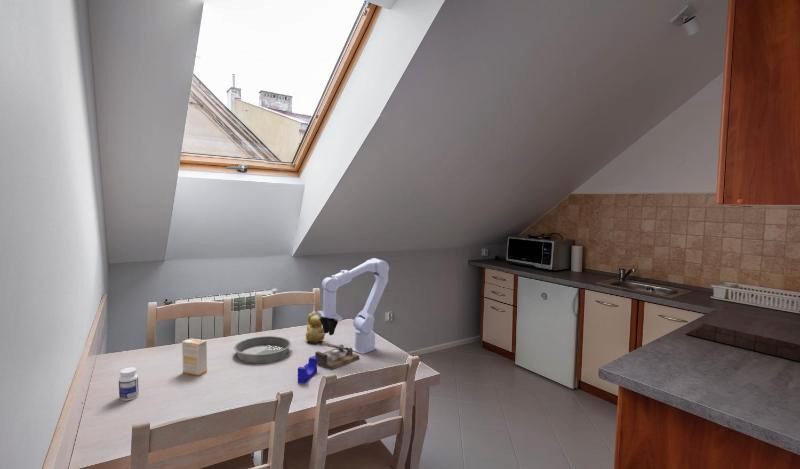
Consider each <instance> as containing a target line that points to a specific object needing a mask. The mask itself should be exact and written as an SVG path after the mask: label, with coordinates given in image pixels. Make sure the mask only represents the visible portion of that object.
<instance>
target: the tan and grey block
mask: <svg viewBox="0 0 800 469" xmlns="http://www.w3.org/2000/svg"><path fill="white" fill-rule="evenodd" d="M321 345H323V346H324V347H325V346H326V347H328V348H332V349H335V348H339V349H343V350H346V351H347V349H348V348H349V347H347V346H344V345H343V346H338V345H339V344H332V343H330V342H327V341H323V342H322V343H321Z"/></svg>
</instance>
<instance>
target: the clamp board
mask: <svg viewBox="0 0 800 469" xmlns="http://www.w3.org/2000/svg"><path fill="white" fill-rule="evenodd" d="M337 345H338V346H344V344H337ZM347 348H348V349H347V350H344V349H339V348H332V349H331V350H327V351H324V352H321V351H315V354H314V355H312V357H315V358H317V366H321V367H322V368H325V369H327V370H335V369H336V368H340V367H341V366H344V365H347V364H349V363H351V362H352V363H353V362H354V361H357V360H359V359H360V355H359V354H357V353H354V352H353V351H352V347H347Z"/></svg>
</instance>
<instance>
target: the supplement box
mask: <svg viewBox="0 0 800 469" xmlns="http://www.w3.org/2000/svg"><path fill="white" fill-rule="evenodd" d="M181 343H182V344H181V346H182V347H181V348H182V349H181V350H182V374H187V375H192V376H197V377H199V376H202V375H204V374H205V373H207V371H208V364H207V363H208V360H207V359H208V358H207V355H208V354H207V352H208V351H207V350H208V349H207V348H208V347H207V340H204V339H198V338H192V337H191V338H188V339H185V340H182V342H181Z"/></svg>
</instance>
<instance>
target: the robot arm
mask: <svg viewBox="0 0 800 469" xmlns="http://www.w3.org/2000/svg"><path fill="white" fill-rule="evenodd" d="M389 270H390V266H389V263H388V262H387V261H385V260H382V259H378V258H377V257H373V258H370V259H367V260H366V261H365V262H363V263H361V264H359V265H357V266H356V267H354V268H352V269H351V270H347V269H342V270H341V269H340V271H339V272H338V273H336V274H332V275H331V277H330V276H329V277H328V276H327V277H325V278H324V279H323V280H322V282H321V283H320V284H321V287H322V289H323V294H322V295H323V296H322V310H317V311H316V314H317V315H318V316H319V315H320V316H321V318H319V320H320V322H321V324H322V326H321V327H322V328H323V330H324V333H325V335H326V334H329V336H333V335H335V331H336V327H337V325H338V323H340V322H343V316H341V315H339V314H338V313H337V290H339V287H342V286H344V285H346V284H347V283H350V282H352V279H353V278H355V277H357V276H359V275H361V274H364V273H366V272H371V273H372V274H373V275H374V278H375V281H374V284H373V286H372V288H371V291H370V293H369V295H368V297H367V299H366V302H365V304H364V307H363V309H362V310H361V311H359V312H358V314H357V315H356V316H355V318H353V322H352V326H353V327H354V328H355V332H354V334H355V337H354V347H353V348H352V347H351V348H352V352H355V353H359V354H361V355H365V354H367V353H370V352H372V351H375V350H376V349H377V347H376V334H375V331H374V330H373V329H374V322H375V316H374V314H375V313H376V309H377V308H378V305H379V302H380V300H381V298H382V295H383V294H384V291H385V289H386V287H387V284H388V282H389Z"/></svg>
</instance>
